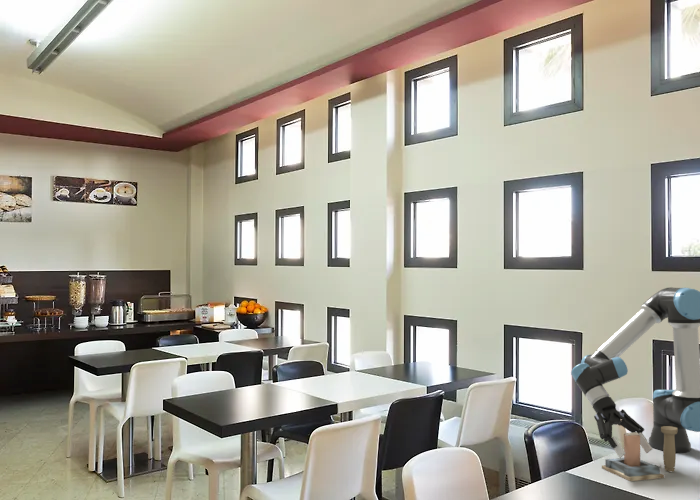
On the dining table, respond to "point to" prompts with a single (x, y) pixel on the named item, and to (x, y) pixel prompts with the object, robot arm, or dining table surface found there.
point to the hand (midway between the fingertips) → (636, 453)
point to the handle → (669, 447)
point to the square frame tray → (632, 470)
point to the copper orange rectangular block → (632, 449)
